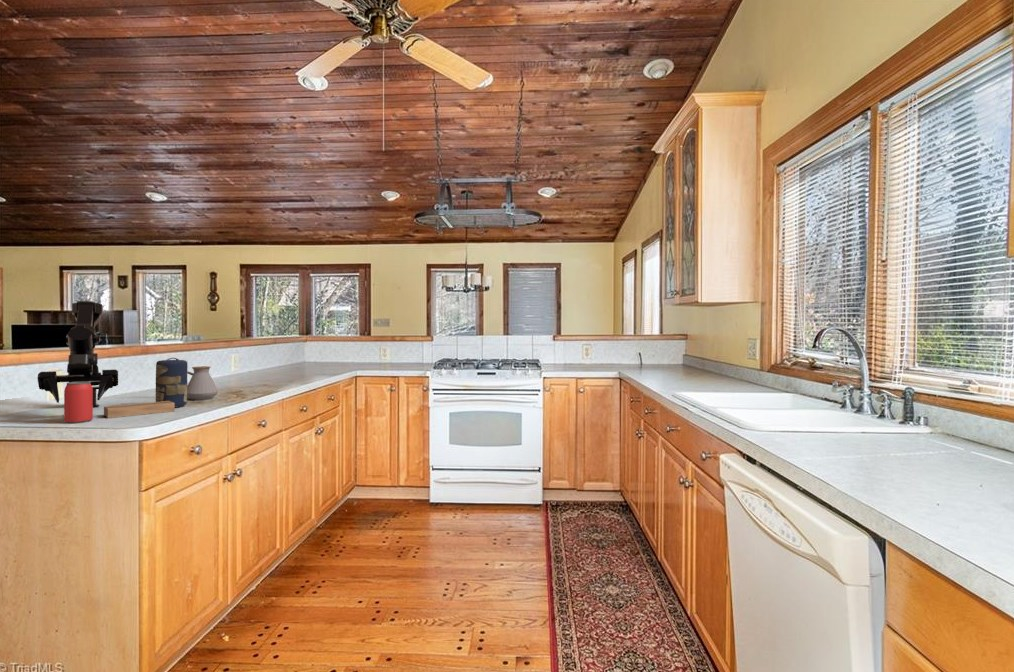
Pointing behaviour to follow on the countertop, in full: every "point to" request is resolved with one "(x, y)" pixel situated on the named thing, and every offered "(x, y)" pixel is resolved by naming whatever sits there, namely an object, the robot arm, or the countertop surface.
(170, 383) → the canister
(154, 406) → the walnut beam
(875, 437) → the countertop surface
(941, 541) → the countertop surface
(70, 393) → the beer can
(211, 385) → the coffee pot
